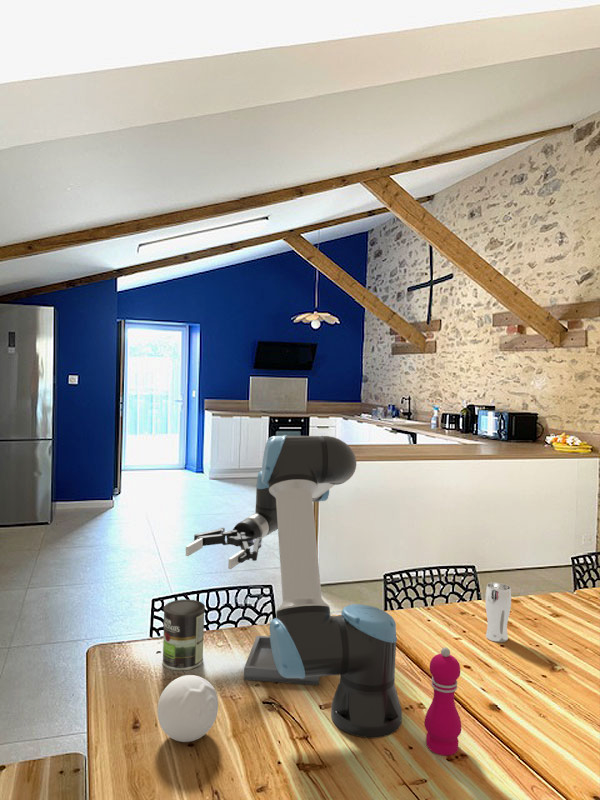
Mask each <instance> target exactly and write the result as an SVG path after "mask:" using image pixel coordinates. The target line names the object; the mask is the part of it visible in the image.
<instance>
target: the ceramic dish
mask: <svg viewBox="0 0 600 800" xmlns="http://www.w3.org/2000/svg"><path fill="white" fill-rule="evenodd" d="M250 649H251V650H250V651H249V654H248V657H247V660H246V663H245V665H244V667H243V669H244V670H243V680H244V681H257V682H266V683H267V682H269V683H270V682H271V683H282V684H283V683H284V684H295V685H296V684H297V685H308V686H309V685H311V686H319V685H320V678H321V676H319V677H307V678H303V679H300V678H285V677H283V676H281V675H280V673H279V672H278V670H277V668H276V665H275V662H274V658H273V654H272V648H271V642H270V635H269V636H267V635H256V636H255V639H254V642H253V644H252V647H251V648H250Z"/></svg>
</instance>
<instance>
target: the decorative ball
mask: <svg viewBox="0 0 600 800" xmlns="http://www.w3.org/2000/svg"><path fill="white" fill-rule="evenodd" d="M217 695H218V693H217V691H216V689H215V688H214V686H213V684H211V682H209V681H208V680H207V679H205V678H203V677H201V676H199V675H193V674H185V675H181V676H179V677H178V678H175V679H173V680H172V681H171V682H169V684H167V686H166V687H165V688H164V689H163V691H162V692H161V695H160V697H159V699H158V703H157V709H156V711H157V718H158V719H157V720H158V724H159V725H160V728H161V729H162V731H163V732H164V733H165V735H167V736H168V737H169V738H170V739H172V740H175V741H176V742H180V743H181V742H182V743H190V742H195V741H197V740H199V739H200V738H202V737H203V736H205V735H206V734H207V733H208V732H209V731H210V730H211V728H212V727H213V725H214V724H215V722H216V719H217V715H218V711H219V701H218V700H219V699H218V696H217Z"/></svg>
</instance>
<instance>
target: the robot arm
mask: <svg viewBox="0 0 600 800" xmlns="http://www.w3.org/2000/svg"><path fill="white" fill-rule="evenodd" d="M262 457H263V458H262V463H261V470H260V471H259V472H258V473H257V477H256V486H255V487H256V494H255V509H254V510H255V513H253V514H251V515H250V516H248V517H246V518H245V519H243V520H242V521H240V522H238V523H236V525H235V526H234V527H233V529H231V530H229V531H227V530H226V529H225V528H226V527H219V528H218V529H212V530H209V531H204V532H200V533H199V532H198V533H195V534H194V535H193V537H194V538H193V541H192V542H190V543H189V544H187V545H185V556H186V557H189V556H191V555H193V554H194V553H196V552H198V551H200V550H201V549H203V547H204V546H205V547H206V546H212V545H213V546H215V545H223V546H228V545H230V546H235V547H239V548H240V550H239V551H238V552H236V553H235V554H233V555H232V556H231V557H229V558H228V565H227V566H228V569H229V570H232V569H234V568H236V566H238V565H239V564H241V563H244V562H246V561H249V560H251V561H253V562H255V561H257V560H258V555H259V549H260V548H261V547H262V543H263V542H262V539H264V538H265V537H267V536H269V535H271V534H272V533H274V532H276V531H277V535H278V536H277V537H278V549H279V550H278V552H279V553H278V554H279V563H280V564H279V565H280V566H279V568H280V580H281V581H280V582H281V583H280V584H281V597H282V602H281V604H280V605H279V607H277V609H276V612H275V613H276V614H275V615H276V617H274V618H273V619H272V620H270V623H269V636H270V642H271V648H272V654H273V658H274V662H275V665H276V668H277V670H278V672H279V673H280V675H281V676H283V677H285V678H300V679H303V678H307V677H319V676H320V677H329V676H340V677H339V678H340V679H339V681H338V686H337V688H336V691H335V693H334V696H333V697H332V698H333V699H332V702H331V704H330V705H331V706H330V717H331V720H332V722H333V724H334V725H335V726H336V727H337V728H338V729H340V730H341V731H343V732H345V733H347V734H350V735H353V736H355V737H360V738H369V739H370V738H371V739H372V738H374V739H375V738H376V739H377V738H383V737H387V736H390V735H392V734H394V733H396V731H398V730H399V729H400V728H401V725H402V721H403V720H402V717H403V712H402V706H401V703H400V698H399V696H398V695H399V694H398V692H397V688H396V686H395V685H396V684H395V677H396V676H395V675H396V657H397V656H396V655H397V653H396V652H397V641H398V638H397V624H396V620H395V618H394V617H392V615H391V614H389V613H388V612H386V611H385V610H383V609H380V608H378V607H376V606H371V605H366V604H361V603H360V604H357V603H353V604H348V605H346V606H344V607H343V608H342V611H341V614H340V615H331V608H330V605H329V604H328V603H327V602H325V601H324V599H323V597H322V587H321V575H320V566H319V565H320V564H319V555H318V545H317V534H316V524H315V514H314V512H315V511H314V504H313V502H314V503H317V502H326V501H327V500H328V499H329V496H330V489H332V488H333V487H334V486H339V485H342V484H344V483H347V482H348V481H349V480H350V479H352V477H353V476H354V474H355V472H356V469H357V458H356V454H355V452H354V451H353V449H352V448H351V447H350V446H349V445H348V444H347V443H346V442H344V440H341V439H340V438H336V437H334V436H329V435H287V434H284V435H273V436H270V437H269V438H268V439H267V440H266V443H265V446H264V451H263V456H262ZM252 546H253V547H252ZM251 547H252V551H251Z"/></svg>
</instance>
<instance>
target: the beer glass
mask: <svg viewBox="0 0 600 800" xmlns="http://www.w3.org/2000/svg"><path fill="white" fill-rule="evenodd" d="M484 603H485V610H486V611H485V612H486V618H487V620H486V621H487V627H486V633H485V637H486V639H487V640H490V641H491V642H495V643H505V642H507V641H508V639H509V636H508V635H509V634H508V622H509V617H510V614H511V613H510V612H511V608H512V588H511V586H510V585H508V584H506V583H504V582H503V583H502V582H495V581H494V582H493V581H492V582H488V583H486V589H485V602H484Z"/></svg>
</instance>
